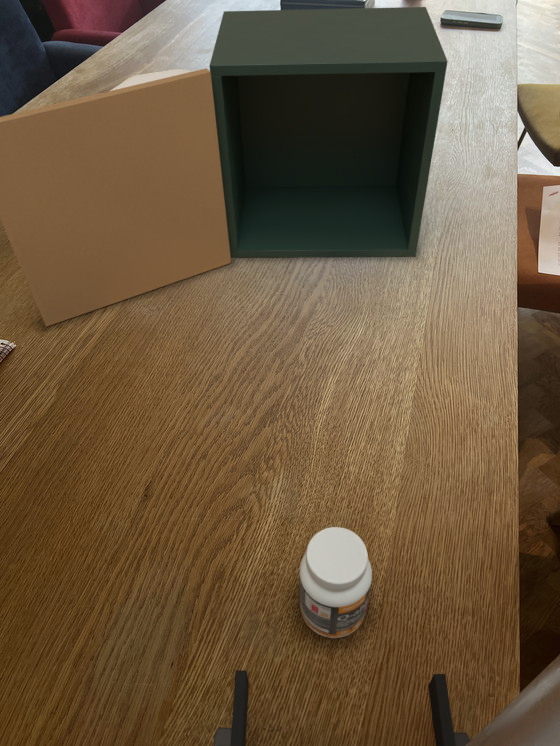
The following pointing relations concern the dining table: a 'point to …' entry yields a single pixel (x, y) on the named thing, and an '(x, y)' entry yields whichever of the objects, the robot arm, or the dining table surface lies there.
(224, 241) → the cupboard door
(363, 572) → the pill bottle
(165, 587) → the dining table surface
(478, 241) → the dining table surface
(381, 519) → the dining table surface
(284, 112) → the cupboard
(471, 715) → the dining table surface
